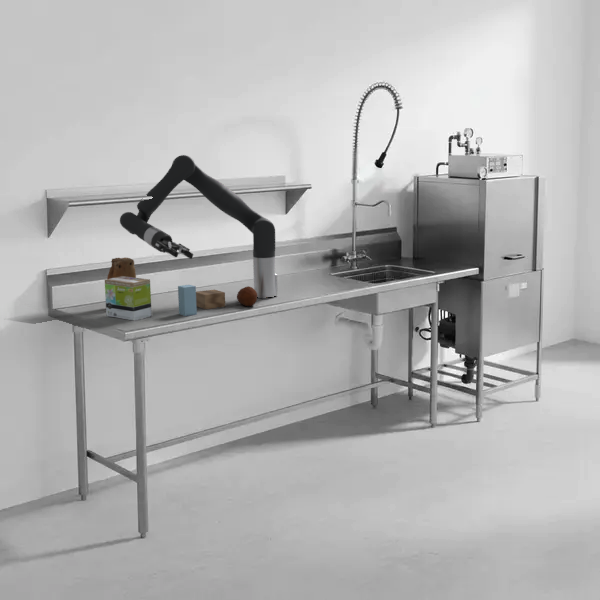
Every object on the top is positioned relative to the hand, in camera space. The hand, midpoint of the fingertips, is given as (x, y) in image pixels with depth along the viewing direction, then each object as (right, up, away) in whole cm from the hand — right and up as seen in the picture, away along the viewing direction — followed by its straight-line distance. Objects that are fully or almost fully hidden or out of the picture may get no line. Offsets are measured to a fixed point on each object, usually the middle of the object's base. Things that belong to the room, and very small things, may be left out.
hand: (184, 255), depth 347 cm
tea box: (-20, -24, -7) cm, 32 cm away
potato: (+24, -20, +13) cm, 34 cm away
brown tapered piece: (-27, -20, +12) cm, 36 cm away
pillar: (+2, -23, -3) cm, 23 cm away
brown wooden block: (+9, -20, +12) cm, 25 cm away
